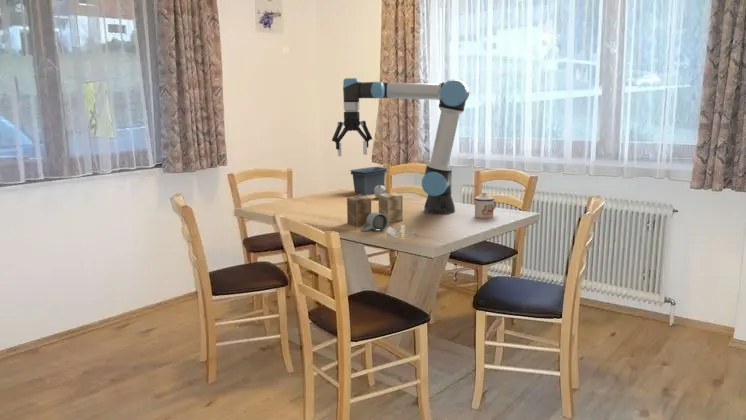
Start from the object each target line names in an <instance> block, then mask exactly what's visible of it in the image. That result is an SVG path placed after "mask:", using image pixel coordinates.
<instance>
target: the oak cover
mask: <svg viewBox="0 0 746 420" xmlns="http://www.w3.org/2000/svg"><path fill="white" fill-rule="evenodd" d="M378 213H381V214H384V215H385V216H386V217H387V219H388V223H395V222H402V221H403V217H404V216H403V213H404V212H403V194H399V193H396V192H388V193H386V194H379V198H378Z"/></svg>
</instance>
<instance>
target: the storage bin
mask: <svg viewBox="0 0 746 420" xmlns="http://www.w3.org/2000/svg"><path fill="white" fill-rule="evenodd" d="M349 171H350V175H352V179H353V180H352V182H353V189H354V194H355V195H359V194H361V195H360V196H368V195H372V194H373V195H375V194H374V193H373V192H374V189H375V187H376V185H386V184H385V181H386V179H385V178H386V173H387V172H388V168H387V167H383V166H369V167H362V168H355V169H350V170H349ZM372 190H373V191H372ZM370 193H371V194H370ZM367 194H368V195H367Z"/></svg>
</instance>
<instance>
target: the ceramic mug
mask: <svg viewBox="0 0 746 420" xmlns="http://www.w3.org/2000/svg"><path fill="white" fill-rule="evenodd" d="M388 224H389V222H388V219H387V217H386V216H385V215H384V214H381V213H379V212H376V211H375V212H374V211H373V212H371V214H369V215H368V217H367V223H366V224H364V225H363V226H361V230H362V231H363V232H368V231H370V230H374V231H375V232H380V231H379V230H376V229H380V230H383V231H384V230H386V228H387V227H388Z"/></svg>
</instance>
